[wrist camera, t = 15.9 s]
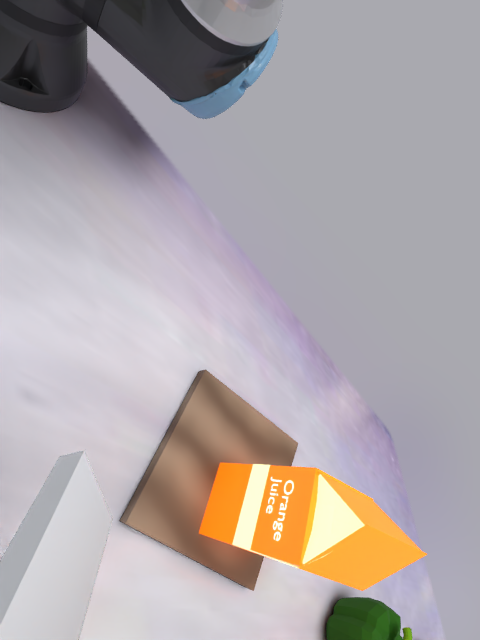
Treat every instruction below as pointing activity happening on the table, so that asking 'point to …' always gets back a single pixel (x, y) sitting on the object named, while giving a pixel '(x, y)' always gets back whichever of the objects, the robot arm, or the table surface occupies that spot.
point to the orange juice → (306, 523)
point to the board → (204, 474)
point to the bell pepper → (364, 621)
